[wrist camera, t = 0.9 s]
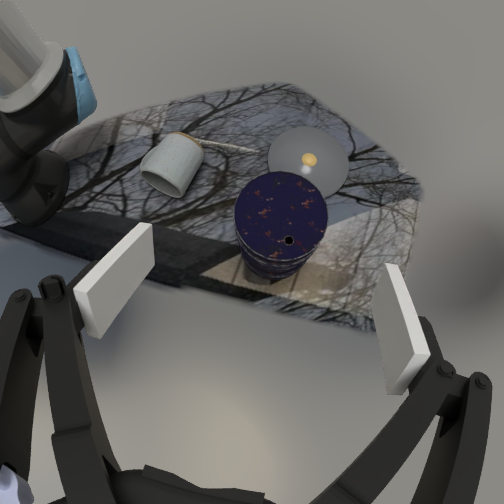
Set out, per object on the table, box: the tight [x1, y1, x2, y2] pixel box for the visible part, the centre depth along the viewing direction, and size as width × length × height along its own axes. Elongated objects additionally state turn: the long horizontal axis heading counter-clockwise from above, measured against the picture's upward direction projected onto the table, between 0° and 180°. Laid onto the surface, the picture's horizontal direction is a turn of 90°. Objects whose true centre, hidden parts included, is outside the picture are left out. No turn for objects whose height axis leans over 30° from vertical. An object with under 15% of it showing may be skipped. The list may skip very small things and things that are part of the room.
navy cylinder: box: [234, 171, 329, 280], centre depth 38 cm, size 10×10×15 cm
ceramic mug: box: [140, 132, 204, 198], centre depth 45 cm, size 11×8×8 cm
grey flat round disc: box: [268, 127, 349, 199], centre depth 48 cm, size 13×13×2 cm
